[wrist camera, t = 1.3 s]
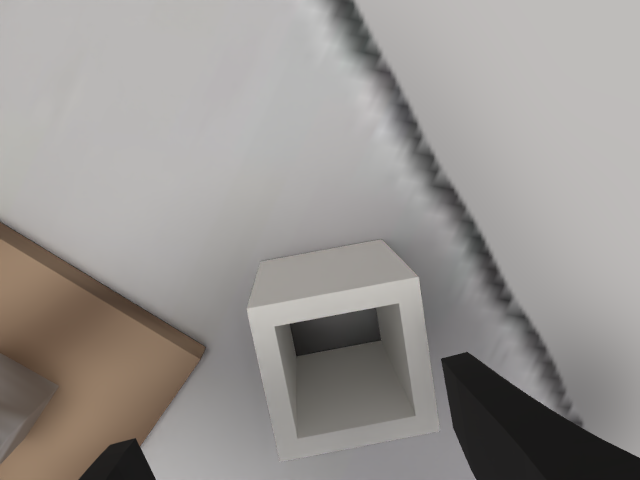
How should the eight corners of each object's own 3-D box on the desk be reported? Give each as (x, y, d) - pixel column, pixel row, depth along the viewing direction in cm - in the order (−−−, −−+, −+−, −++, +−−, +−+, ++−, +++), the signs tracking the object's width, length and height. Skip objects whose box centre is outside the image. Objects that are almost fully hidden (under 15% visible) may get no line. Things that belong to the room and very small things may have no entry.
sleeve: (381, 239, 20) (418, 276, 14) (398, 352, 21) (440, 431, 15) (260, 261, 20) (246, 309, 14) (283, 373, 21) (279, 462, 15)
